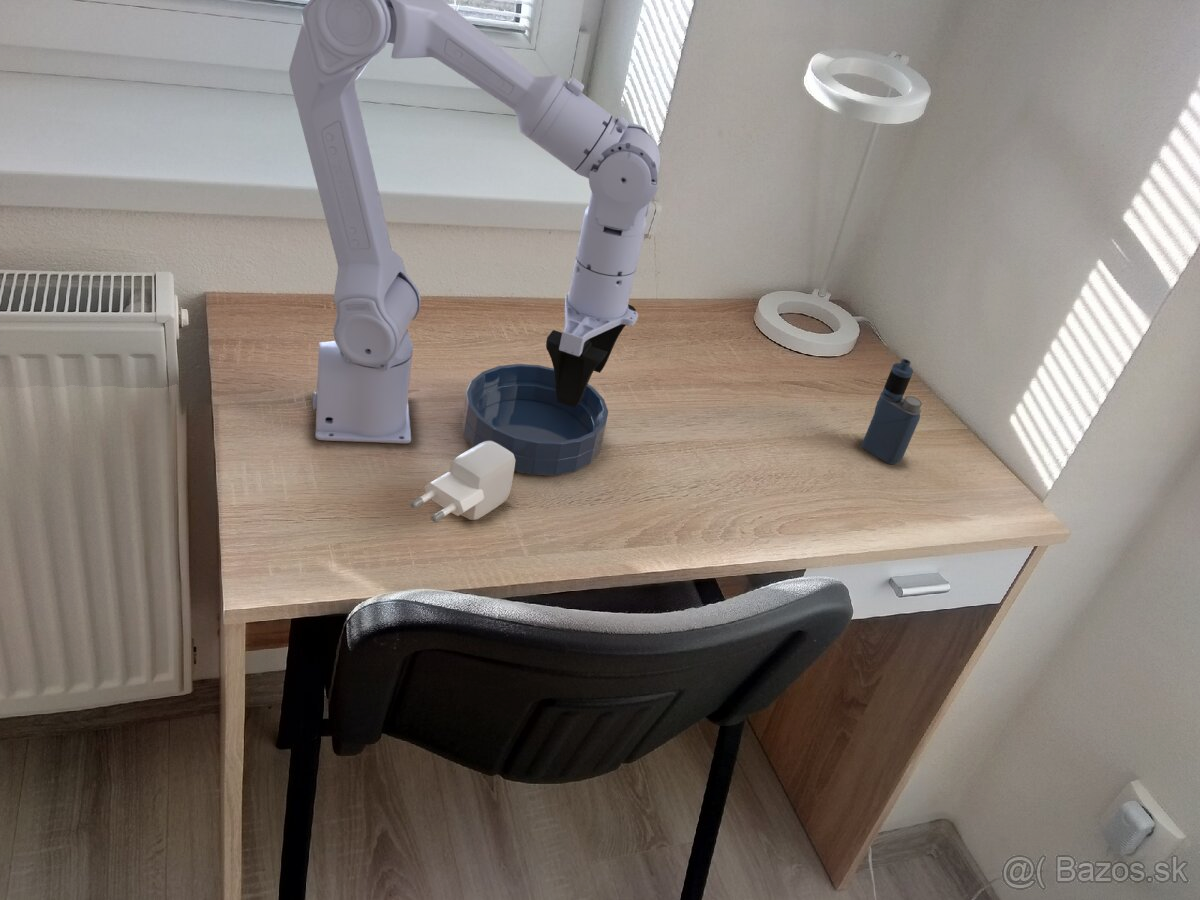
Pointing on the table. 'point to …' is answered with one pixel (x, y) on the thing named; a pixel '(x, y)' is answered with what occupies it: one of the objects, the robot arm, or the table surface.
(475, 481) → the power adapter
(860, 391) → the table surface
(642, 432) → the table surface
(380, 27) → the robot arm
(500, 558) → the table surface
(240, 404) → the table surface
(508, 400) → the bowl
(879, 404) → the vaping device
